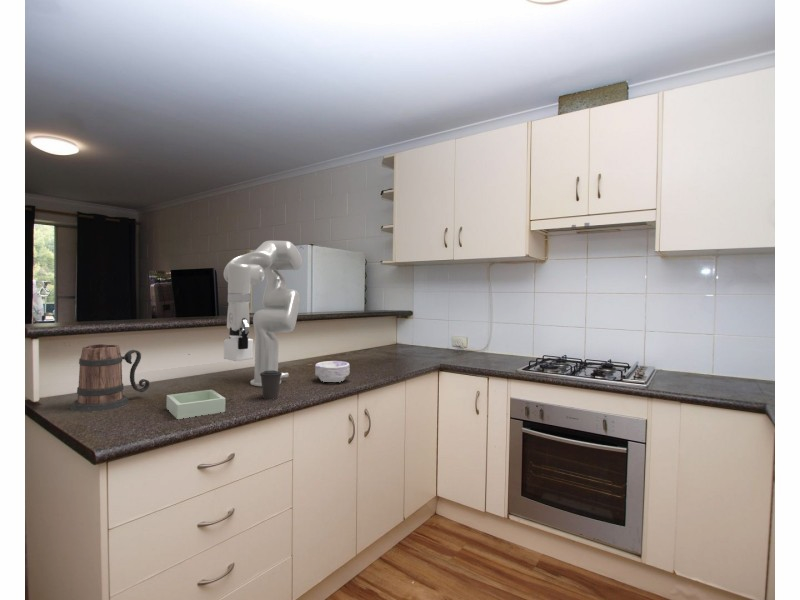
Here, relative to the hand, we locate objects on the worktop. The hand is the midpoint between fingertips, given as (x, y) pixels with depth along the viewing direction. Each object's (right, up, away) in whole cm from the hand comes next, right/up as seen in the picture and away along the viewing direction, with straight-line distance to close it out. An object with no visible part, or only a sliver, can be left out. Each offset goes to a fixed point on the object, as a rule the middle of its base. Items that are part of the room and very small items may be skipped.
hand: (238, 347), depth 153 cm
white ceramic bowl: (+27, -20, +39) cm, 51 cm away
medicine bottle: (0, -4, 0) cm, 4 cm away
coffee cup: (+9, -20, +7) cm, 23 cm away
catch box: (-10, -20, -11) cm, 25 cm away
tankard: (-42, -19, -5) cm, 46 cm away
